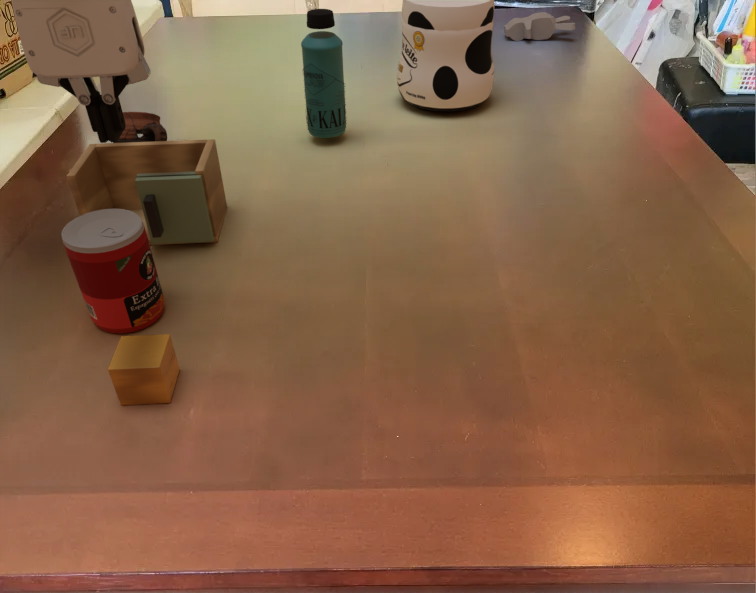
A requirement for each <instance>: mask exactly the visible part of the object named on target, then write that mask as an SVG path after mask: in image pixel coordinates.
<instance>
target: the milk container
mask: <svg viewBox="0 0 756 593" xmlns="http://www.w3.org/2000/svg"><path fill="white" fill-rule="evenodd" d="M494 15H495V0H402V3H401V18H402V19H401V52H400V56H399V60H398V64H397V69H396V83H397V90H398V93H399V94H400V96H401V98H402V99H403V100H404V101H405V102H407V104H409V105H411V106H413V107H416V108H419V109H422V110H425V111H433V112H457V111H465V110H469V109H472V108H475V107H478V106H480V105H481V104H483V103H484V102H485V101H487V100H488V99H489V97H490V96H491V93H492V90H493V87H494V81H495V64H494V59H493V52H492V43H493V42H492V41H493V32H494V25H495V24H494V22H495V21H494Z"/></svg>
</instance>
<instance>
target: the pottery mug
mask: <svg viewBox="0 0 756 593" xmlns="http://www.w3.org/2000/svg"><path fill="white" fill-rule="evenodd" d="M122 112H123V115H124V119H125V124H126V127H125V130H124V131H123V133H122V134H121V136H120V138H119V139H118V141H117V142H112V143H128V142H155V141H168V132H167V130H166V128H165V127H164V126H163V125H162V123H161V116H159V115H158V114H155V113H153V112H145V111H122ZM139 135H141V136H140V137H139Z"/></svg>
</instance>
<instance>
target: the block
mask: <svg viewBox="0 0 756 593" xmlns="http://www.w3.org/2000/svg"><path fill="white" fill-rule="evenodd" d="M180 370H181V369H180V365H179V361H178V358H177V354H176V350H175V348H174V344H173V340H172V337H171V334H170V333H163V334H160V333H159V334H140V335H139V334H137V335H121V336H120V338H119V341H118V343H117V346H116V348H115V350H114V353H113V356H112V358H111V361H110V363H109V364H108V368H107V371H108V375H109V377H110V379H111V382H112V386H113V388H114V391H115V394H116V396H117V399H118V401H119V404H120V406H133V405H155V404H156V405H157V404H170V403H171V401H172V398H173V394H174V391H175V387H176V383H177V380H178V377H179V374H180V373H179V372H180Z"/></svg>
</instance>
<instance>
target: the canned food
mask: <svg viewBox="0 0 756 593" xmlns="http://www.w3.org/2000/svg"><path fill="white" fill-rule="evenodd" d="M60 236H61V239H62V244H63V246H64V250H65V252H66V256H67V258H68V260H69V263H70V266H71V269H72V271H73V274H74V276H75V279H76V282H77V285H78V288H79V290H80V293H81V296H82V298H83V301H84V303H85V304H84V305H85V306H86V309H87V311H88V314H89V317H90V319H91V320H92V322H93V323H94V324H95V325H96V326H97V327H98V329H100V330H101V331H104V332H107V333H111V334H129V333H135V332H138V331H141V330H143V329H146V328H148V327H150V326H152V325H153V324H154V323H155V322H157V321H158V320H159V319H160V318H161V316H162V314H163V312H164V310H165V297H164V294H163V290H162V289H163V288H162V286H161V282H160V277H159V274H158V271H157V267H156V264H155V259H154V256H153V252H152V248H151V245H150V244H149V241H148V237H147V233H146V230H145V227H144V224H143V222H142V219H141V217H140V216H139V215H138V214H136V213H135V212H132V211H130V210H125V209H103V210H97V211H93V212H89V213H86V214H84V215H81V216H80V215H79V216H77V217H75V218H73V219H72V220H70V221H69V222H68V223H66V224H65V226H64V227H63V229H62V230H61V235H60Z"/></svg>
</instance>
